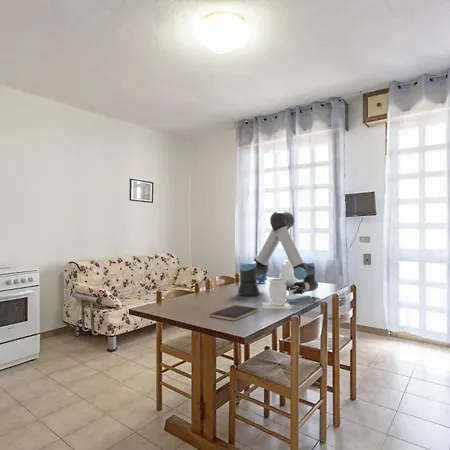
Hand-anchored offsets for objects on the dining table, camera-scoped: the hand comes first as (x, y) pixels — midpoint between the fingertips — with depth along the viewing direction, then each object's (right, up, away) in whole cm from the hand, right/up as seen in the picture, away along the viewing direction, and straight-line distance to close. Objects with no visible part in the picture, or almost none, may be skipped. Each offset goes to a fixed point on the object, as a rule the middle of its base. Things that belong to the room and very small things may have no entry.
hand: (280, 291), depth 205 cm
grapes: (-4, -9, +80) cm, 81 cm away
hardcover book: (-29, -9, -21) cm, 37 cm away
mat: (+14, -8, +14) cm, 21 cm away
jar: (-2, -8, 0) cm, 8 cm away
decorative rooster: (+17, -8, +71) cm, 73 cm away
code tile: (-3, -8, -3) cm, 9 cm away
